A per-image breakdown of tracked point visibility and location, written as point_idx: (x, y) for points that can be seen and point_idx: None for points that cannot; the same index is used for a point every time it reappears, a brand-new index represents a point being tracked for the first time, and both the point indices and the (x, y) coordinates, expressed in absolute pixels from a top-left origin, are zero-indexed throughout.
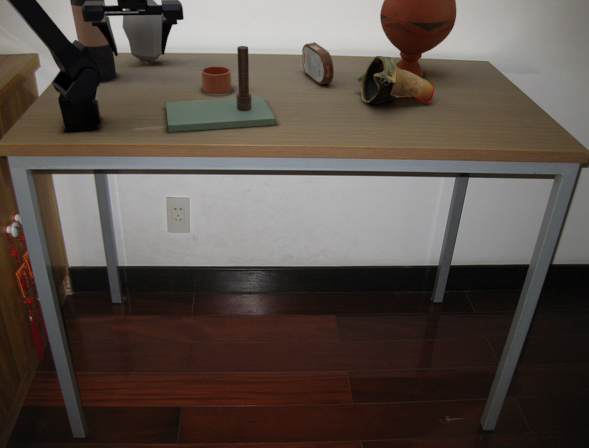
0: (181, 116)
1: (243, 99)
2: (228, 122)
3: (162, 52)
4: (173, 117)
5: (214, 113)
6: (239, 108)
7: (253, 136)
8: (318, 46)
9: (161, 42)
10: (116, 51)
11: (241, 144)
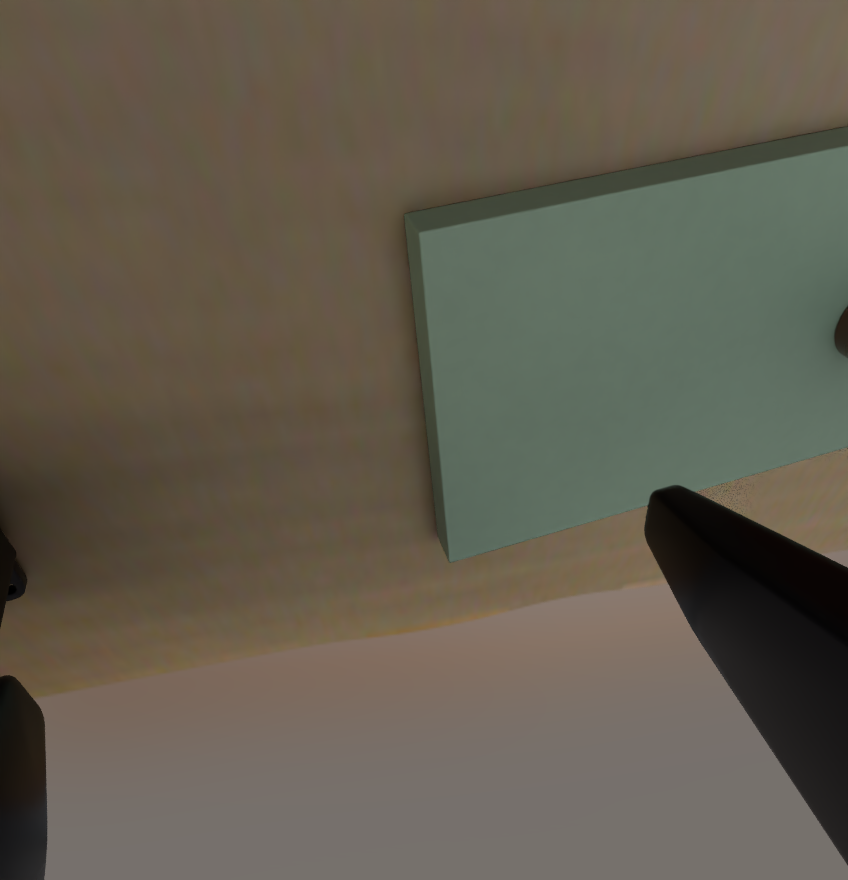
0: (521, 460)
1: None
2: (727, 477)
3: (666, 568)
4: (476, 478)
5: (700, 403)
6: (846, 356)
7: (771, 511)
8: None
9: (753, 691)
10: (43, 806)
11: None
